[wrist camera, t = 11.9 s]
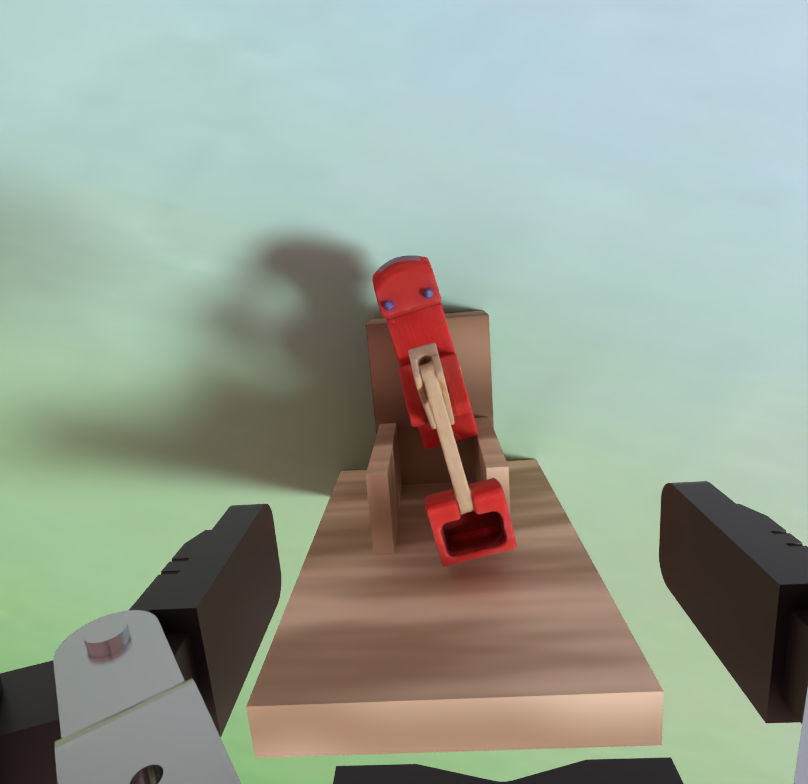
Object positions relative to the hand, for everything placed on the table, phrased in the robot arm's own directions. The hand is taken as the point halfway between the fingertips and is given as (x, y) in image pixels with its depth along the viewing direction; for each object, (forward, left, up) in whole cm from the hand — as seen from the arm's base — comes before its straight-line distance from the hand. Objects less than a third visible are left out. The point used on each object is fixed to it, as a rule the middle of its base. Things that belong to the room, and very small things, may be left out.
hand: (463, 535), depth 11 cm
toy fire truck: (+1, 0, -20) cm, 20 cm away
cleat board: (+4, -1, -24) cm, 24 cm away
